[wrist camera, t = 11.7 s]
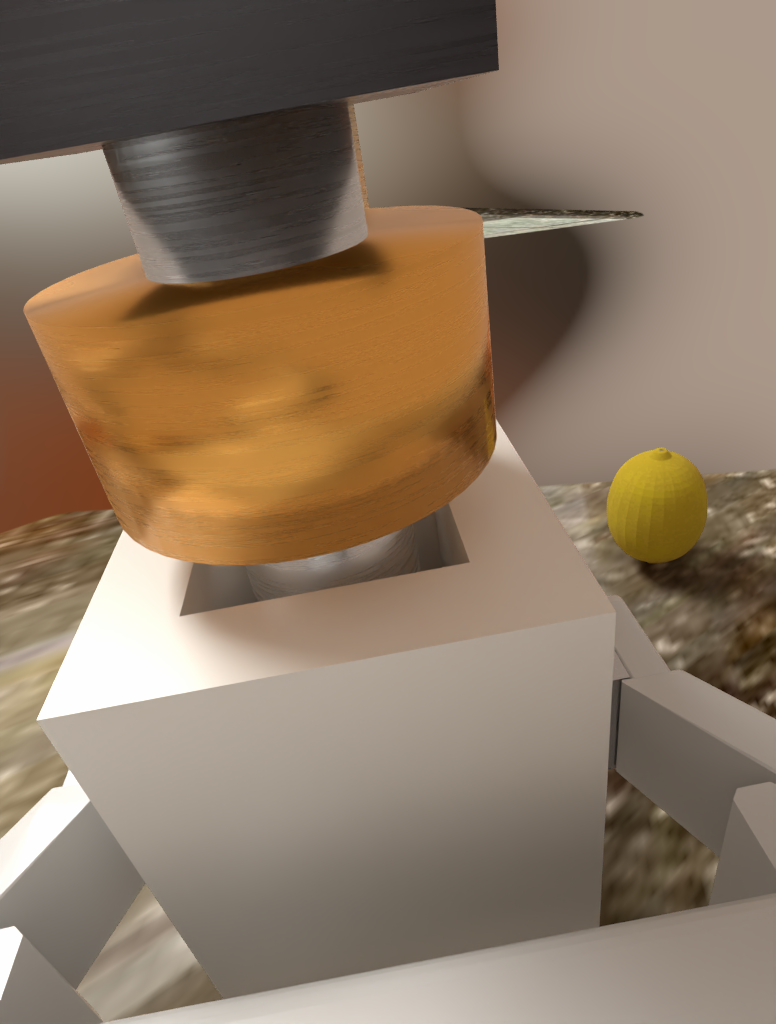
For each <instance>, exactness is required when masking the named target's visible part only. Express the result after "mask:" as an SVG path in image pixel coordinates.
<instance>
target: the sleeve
mask: <svg viewBox="0 0 776 1024" xmlns="http://www.w3.org/2000/svg"><path fill="white" fill-rule="evenodd" d="M496 431H497V439H496V445H495V450H494V452H493V454H492V457H491V459H490V461H489V463H488V464H487V466H486V467H485V468H484V470H483V471H482V473H481V474H480V475H479V477H478V478H477V479H476V480H475V481H474V482H473V483H472V484H471V485H470V486H469V487H468V488H467V489H466V490H465V491H463V492H462V493H461V494H459V495H458V496H457V497H455V498H454V499H453V500H451V501H450V502H449V503H448V504H446V505H445V506H443V507H441V508H440V509H438V510H436V511H435V512H433V513H431V514H430V515H428V516H427V517H425V518H423V519H421V520H419V521H417V522H415V523H413V524H414V530H415V537H416V543H417V549H418V556H419V562H420V569H421V572H416V573H410V574H405V575H400V576H394V577H389V578H384V579H378V580H373V581H368V582H362V583H357V584H351V585H346V586H341V587H335V588H330V589H325V590H319V591H314V592H309V593H303V594H298V595H292V596H287V597H282V598H276V599H271V600H266V601H260V602H257V600H256V597H255V594H254V591H253V588H252V585H251V582H250V579H249V576H248V573H247V570H246V567H245V565H244V566H242V565H210V564H202V563H193V562H186V561H182V560H178V559H174V558H170V557H166V556H163V555H161V554H158V553H156V552H153V551H151V550H148V549H146V548H145V547H143V546H142V545H140V544H138V543H137V542H135V541H134V540H133V539H132V538H131V537H130V536H129V535H128V534H127V533H126V532H125V531H124V530H123V532H122V534H121V536H120V539H119V541H118V543H117V545H116V547H115V549H114V552H113V554H112V556H111V558H110V560H109V563H108V565H107V567H106V569H105V571H104V574H103V576H102V578H101V580H100V582H99V585H98V587H97V589H96V591H95V593H94V595H93V598H92V600H91V602H90V604H89V606H88V609H87V611H86V613H85V615H84V617H83V620H82V622H81V624H80V626H79V628H78V631H77V633H76V635H75V637H74V639H73V641H72V644H71V646H70V648H69V650H68V652H67V655H66V657H65V659H64V661H63V663H62V666H61V668H60V670H59V672H58V674H57V677H56V679H55V681H54V683H53V685H52V687H51V690H50V692H49V694H48V696H47V698H46V701H45V703H44V705H43V707H42V709H41V712H40V714H39V716H38V718H37V720H36V721H37V722H38V724H39V725H40V727H41V728H42V730H43V731H44V733H45V734H46V736H47V737H48V739H49V740H50V742H51V743H52V745H53V746H54V748H55V749H56V750H57V752H58V753H59V755H60V756H61V758H62V759H63V761H64V762H65V764H66V765H67V767H68V768H69V770H70V771H71V773H72V774H73V776H74V777H75V779H76V780H77V782H78V783H79V785H80V786H81V788H82V789H83V791H84V792H85V794H86V795H87V797H88V798H89V800H90V801H91V803H92V804H93V806H94V807H95V809H96V810H97V812H98V813H99V814H100V816H101V817H102V819H103V820H104V822H105V823H106V825H107V826H108V828H109V829H110V831H111V832H112V834H113V835H114V837H115V838H116V840H117V841H118V843H119V844H120V846H121V847H122V849H123V850H124V852H125V853H126V855H127V856H128V858H129V859H130V861H131V862H132V864H133V865H134V867H135V868H136V870H137V871H138V873H139V874H140V876H141V877H142V878H143V880H144V881H145V883H146V884H147V886H148V887H149V889H150V890H151V892H152V893H153V895H154V896H155V898H156V899H157V901H158V902H159V904H160V905H161V907H162V908H163V910H164V911H165V913H166V914H167V916H168V917H169V919H170V920H171V922H172V923H173V925H174V926H175V928H176V929H177V931H178V932H179V934H180V935H181V937H182V938H183V940H184V941H185V942H186V944H187V945H188V947H189V948H190V950H191V951H192V953H193V954H194V956H195V957H196V959H197V960H198V962H199V963H200V965H201V966H202V968H203V969H204V971H205V972H206V974H207V975H208V977H209V978H210V980H211V981H212V983H213V984H214V986H215V987H216V989H217V990H218V992H219V993H220V995H221V996H222V998H223V999H228V998H233V997H238V996H244V995H249V994H254V993H259V992H264V991H269V990H274V989H280V988H285V987H290V986H295V985H300V984H305V983H311V982H316V981H321V980H326V979H331V978H336V977H342V976H347V975H352V974H357V973H362V972H367V971H373V970H378V969H383V968H388V967H393V966H398V965H404V964H409V963H414V962H419V961H424V960H429V959H435V958H440V957H445V956H450V955H455V954H461V953H466V952H471V951H476V950H481V949H487V948H492V947H497V946H502V945H507V944H513V943H518V942H523V941H528V940H533V939H539V938H544V937H549V936H554V935H559V934H565V933H570V932H575V931H580V930H586V929H591V928H596V927H599V926H600V907H601V888H602V870H603V851H604V832H605V813H606V795H607V776H608V757H609V738H610V719H611V701H612V682H613V663H614V644H615V625H616V611H615V609H614V608H613V606H612V604H611V603H610V601H609V599H608V598H607V596H606V595H605V593H604V591H603V590H602V588H601V587H600V585H599V583H598V582H597V580H596V579H595V577H594V575H593V574H592V572H591V571H590V569H589V567H588V566H587V564H586V563H585V561H584V559H583V558H582V556H581V555H580V553H579V551H578V550H577V548H576V547H575V545H574V543H573V542H572V540H571V539H570V537H569V535H568V534H567V532H566V531H565V529H564V527H563V526H562V524H561V523H560V521H559V519H558V518H557V516H556V514H555V513H554V511H553V510H552V508H551V506H550V505H549V503H548V502H547V500H546V498H545V497H544V495H543V494H542V492H541V490H540V489H539V487H538V486H537V484H536V483H535V481H534V479H533V478H532V476H531V474H530V473H529V471H528V470H527V468H526V466H525V465H524V463H523V462H522V460H521V459H520V457H519V455H518V454H517V452H516V450H515V449H514V447H513V446H512V444H511V442H510V441H509V439H508V438H507V436H506V434H505V433H504V431H503V430H502V428H501V426H500V425H499V423H498V421H497V420H496Z"/></svg>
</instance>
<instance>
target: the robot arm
mask: <svg viewBox="0 0 776 1024" xmlns="http://www.w3.org/2000/svg"><path fill="white" fill-rule="evenodd" d="M607 598H608V599H609V601H610V603H611V604H612V606H613V608H614V609H615V611H616V625H615V644H614V663H613V682H612V701H611V719H610V738H609V757H608V769H611V768H616V771H617V772H618V773H619V774H620V775H622V776H623V777H624V778H625V779H626V780H628V781H629V782H630V783H631V784H632V785H634V786H635V787H636V788H637V789H638V790H640V791H641V792H642V793H643V794H644V795H645V796H647V797H648V798H649V799H650V800H651V801H653V802H654V803H655V804H656V805H657V806H659V807H660V808H661V809H662V810H663V811H665V812H666V813H667V814H668V815H669V816H671V817H672V818H673V819H674V820H675V821H677V822H678V823H679V824H680V825H681V826H683V827H684V828H685V829H686V830H687V831H689V832H690V833H691V834H692V835H693V836H695V837H696V838H697V839H698V840H699V841H701V842H702V843H703V844H704V845H705V846H707V847H708V848H709V849H710V850H711V851H713V852H714V853H715V854H716V855H717V856H719V857H720V858H719V863H718V867H717V871H716V875H715V880H714V884H713V888H712V892H711V897H710V901H709V905H708V906H705V907H700V908H695V909H690V910H684V911H679V912H674V913H669V914H664V915H658V916H653V917H648V918H643V919H638V920H632V921H627V922H622V923H617V924H612V925H606V926H601V927H596V928H591V929H586V930H580V931H575V932H570V933H565V934H559V935H554V936H549V937H544V938H539V939H533V940H528V941H523V942H518V943H513V944H507V945H502V946H497V947H492V948H487V949H481V950H476V951H471V952H466V953H461V954H455V955H450V956H445V957H440V958H435V959H429V960H424V961H419V962H414V963H409V964H404V965H398V966H393V967H388V968H383V969H378V970H373V971H367V972H362V973H357V974H352V975H347V976H342V977H336V978H331V979H326V980H321V981H316V982H311V983H305V984H300V985H295V986H290V987H285V988H280V989H274V990H269V991H264V992H259V993H254V994H249V995H244V996H238V997H233V998H228V999H223V1000H218V1001H212V1002H207V1003H202V1004H197V1005H192V1006H187V1007H181V1008H176V1009H171V1010H166V1011H161V1012H156V1013H150V1014H145V1015H140V1016H135V1017H130V1018H125V1019H119V1020H114V1021H109V1022H103V1020H102V1019H101V1017H100V1016H99V1014H98V1013H97V1012H96V1011H95V1010H94V1009H93V1008H92V1006H91V1005H90V1004H89V1003H88V1002H87V1001H86V1000H85V999H84V998H83V997H82V996H81V995H80V994H79V993H78V992H77V991H76V988H77V987H78V985H79V984H80V982H81V981H82V979H83V978H84V976H85V975H86V973H87V972H88V970H89V969H90V967H91V965H92V964H93V962H94V961H95V959H96V958H97V956H98V955H99V953H100V952H101V950H102V949H103V947H104V946H105V944H106V943H107V941H108V939H109V938H110V936H111V935H112V933H113V932H114V930H115V929H116V927H117V926H118V924H119V923H120V921H121V920H122V918H123V916H124V915H125V913H126V912H127V910H128V909H129V907H130V906H131V904H132V903H133V901H134V900H135V898H136V897H137V895H138V894H139V892H140V890H141V889H142V887H143V886H144V884H145V881H144V880H143V878H142V877H141V876H140V874H139V873H138V871H137V870H136V868H135V867H134V865H133V864H132V862H131V861H130V859H129V858H128V856H127V855H126V853H125V852H124V850H123V849H122V847H121V846H120V844H119V843H118V841H117V840H116V838H115V837H114V835H113V834H112V832H111V831H110V829H109V828H108V826H107V825H106V823H105V822H104V820H103V819H102V817H101V816H100V814H99V813H98V812H97V810H96V809H95V807H94V806H93V804H92V803H91V801H90V800H89V798H88V797H87V795H86V794H85V792H84V791H83V789H82V788H81V786H80V785H79V783H78V782H77V780H76V779H75V777H74V776H73V774H72V773H71V771H70V770H68V773H67V776H66V778H65V781H64V784H63V786H62V787H57V788H52V789H51V790H50V791H49V792H48V793H47V794H46V795H45V796H44V797H43V798H42V799H41V800H40V801H39V802H38V803H37V804H36V805H35V806H34V807H33V808H32V809H31V810H30V811H29V812H28V813H27V814H26V815H25V816H24V817H23V818H22V819H21V820H20V821H19V822H18V823H17V824H16V825H15V826H14V827H13V828H12V829H11V830H10V831H9V832H8V833H7V834H6V835H5V836H4V837H3V838H2V839H1V840H0V1024H776V719H774V718H772V717H770V716H769V715H767V714H765V713H763V712H761V711H759V710H757V709H755V708H753V707H751V706H749V705H748V704H746V703H744V702H742V701H740V700H738V699H736V698H734V697H732V696H730V695H729V694H727V693H725V692H723V691H721V690H719V689H717V688H715V687H713V686H711V685H710V684H708V683H706V682H704V681H702V680H700V679H698V678H696V677H694V676H692V675H691V674H689V673H687V672H685V671H683V670H681V669H680V670H674V671H670V670H669V668H668V667H667V665H666V664H665V662H664V661H663V659H662V658H661V656H660V655H659V653H658V652H657V650H656V649H655V647H654V646H653V644H652V643H651V641H650V640H649V638H648V637H647V635H646V634H645V632H644V631H643V629H642V628H641V626H640V625H639V623H638V622H637V620H636V619H635V617H634V616H633V614H632V613H631V611H630V610H629V608H628V607H627V605H626V604H625V602H624V601H623V599H622V598H621V597H619V596H617V595H613V596H608V597H607Z"/></svg>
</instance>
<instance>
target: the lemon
mask: <svg viewBox="0 0 776 1024" xmlns="http://www.w3.org/2000/svg"><path fill="white" fill-rule="evenodd" d="M706 518H707V492H706V487H705V483H704V481H703V478H702V476H701V474H700V472H699V471H698V469H697V468H696V467H695V466H694V465H693V464H692V463H691V462H690V461H689V460H688V459H686V458H685V457H683V456H681V455H679V454H677V453H675V452H672V451H668V450H667V449H665V448H656V449H655V450H652V451H647V452H643V453H640V454H638V455H636V456H634V457H633V458H631V459H630V460H628V461H627V462H626V463H625V464H624V465H623V466H622V467H621V468H620V469H619V471H618V472H617V474H616V476H615V478H614V480H613V482H612V485H611V488H610V491H609V494H608V500H607V521H608V526H609V529H610V532H611V534H612V536H613V538H614V540H615V542H616V543H617V545H618V546H619V547H620V548H621V549H622V550H623V551H624V552H625V553H627V554H628V555H630V556H631V557H633V558H635V559H638V560H640V561H644V562H647V563H650V564H653V563H664V562H669V561H672V560H675V559H677V558H679V557H681V556H683V555H684V554H686V553H687V552H688V551H689V550H690V549H691V548H692V547H693V546H694V545H695V544H696V543H697V541H698V539H699V537H700V535H701V533H702V532H703V529H704V526H705V523H706Z"/></svg>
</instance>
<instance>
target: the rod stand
mask: <svg viewBox="0 0 776 1024" xmlns="http://www.w3.org/2000/svg"><path fill="white" fill-rule="evenodd" d="M497 70H499V65H498V44H497V23H496V4H495V0H0V164H6V163H13V162H21V161H28V160H35V159H43V158H50V157H56V156H63V155H71V154H78V153H83V152H89V151H94V150H100V149H103V152H104V155H105V158H106V161H107V163H108V166H109V169H110V172H111V175H112V178H113V181H114V184H115V187H116V190H117V193H118V196H119V199H120V202H121V204H122V207H123V210H124V213H125V216H126V219H127V222H128V225H129V228H130V231H131V234H132V236H133V240H134V242H135V245H136V248H137V251H138V254H135V255H131V256H128V257H125V258H122V259H119V260H116V261H112V262H109V263H106V264H103V265H100V266H98V267H95V268H92V269H89V270H87V271H84V272H81V273H79V274H77V275H74V276H72V277H69V278H67V279H65V280H62V281H61V282H58V283H56V284H54V285H52V286H50V287H48V288H46V289H44V290H43V291H41V292H39V293H38V294H37V295H35V296H34V297H32V298H31V299H30V300H29V301H28V302H27V303H26V305H25V307H24V313H25V315H26V318H27V320H28V322H29V324H30V327H31V329H32V331H33V333H34V335H35V338H36V340H37V342H38V344H39V346H40V349H41V351H42V353H43V355H44V357H45V360H46V362H47V364H48V366H49V368H50V371H51V373H52V375H53V377H54V379H55V382H56V384H57V386H58V388H59V391H60V393H61V395H62V397H63V399H64V402H65V404H66V406H67V408H68V410H69V413H70V415H71V417H72V419H73V421H74V423H75V426H76V428H77V430H78V432H79V435H80V437H81V439H82V441H83V443H84V446H85V448H86V450H87V452H88V454H89V457H90V458H91V461H92V463H93V466H94V468H95V470H96V472H97V474H98V477H99V479H100V481H101V483H102V485H103V487H104V490H105V492H106V494H107V496H108V499H109V501H110V503H111V505H112V507H113V510H114V512H115V514H116V516H117V518H118V520H119V522H120V524H121V526H122V528H123V530H124V531H125V532H126V533H127V534H128V535H129V536H130V537H131V538H132V539H133V540H134V541H135V542H137V543H138V544H140V545H142V546H143V547H145V548H146V549H148V550H151V551H153V552H156V553H158V554H161V555H163V556H166V557H170V558H174V559H178V560H182V561H186V562H193V563H202V564H210V565H242V566H244V565H245V567H246V570H247V573H248V576H249V579H250V582H251V585H252V588H253V591H254V594H255V597H256V600H257V602H260V601H266V600H271V599H276V598H282V597H287V596H292V595H298V594H303V593H309V592H314V591H319V590H325V589H330V588H335V587H341V586H346V585H351V584H357V583H362V582H368V581H373V580H378V579H384V578H389V577H394V576H400V575H405V574H410V573H416V572H421V569H420V562H419V556H418V549H417V543H416V537H415V530H414V524H413V523H415V522H417V521H419V520H421V519H423V518H425V517H427V516H428V515H430V514H431V513H433V512H435V511H436V510H438V509H440V508H441V507H443V506H445V505H446V504H448V503H449V502H450V501H451V500H453V499H454V498H455V497H457V496H458V495H459V494H461V493H462V492H463V491H465V490H466V489H467V488H468V487H469V486H470V485H471V484H472V483H473V482H474V481H475V480H476V479H477V478H478V477H479V475H480V474H481V473H482V471H483V470H484V468H485V467H486V466H487V464H488V463H489V461H490V459H491V457H492V454H493V452H494V450H495V445H496V439H497V431H496V416H495V401H494V386H493V371H492V356H491V341H490V326H489V312H488V296H487V282H486V265H485V250H484V235H483V221H482V217H481V216H480V215H479V214H478V213H476V212H473V211H471V210H467V209H463V208H457V207H447V206H398V207H383V208H371V209H369V203H368V197H367V190H366V183H365V177H364V170H363V163H362V157H361V150H360V144H359V137H358V131H357V124H356V118H355V112H354V104H356V103H361V102H366V101H372V100H378V99H383V98H389V97H394V96H400V95H406V94H411V93H415V92H419V91H423V90H427V89H430V88H434V87H438V86H442V85H445V84H449V83H452V82H456V81H460V80H464V79H467V78H471V77H475V76H479V75H482V74H486V73H490V72H493V71H497Z"/></svg>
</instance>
